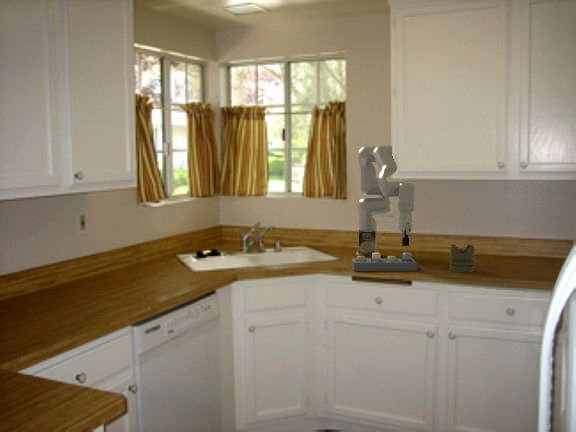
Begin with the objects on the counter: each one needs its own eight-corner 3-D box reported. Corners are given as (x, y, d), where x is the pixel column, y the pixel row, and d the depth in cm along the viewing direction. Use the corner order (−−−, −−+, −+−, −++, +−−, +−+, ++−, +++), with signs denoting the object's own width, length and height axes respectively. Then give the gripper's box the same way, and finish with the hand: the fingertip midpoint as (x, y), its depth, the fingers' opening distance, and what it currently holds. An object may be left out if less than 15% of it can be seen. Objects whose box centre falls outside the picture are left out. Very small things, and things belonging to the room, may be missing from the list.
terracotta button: (356, 264, 307) (356, 255, 307) (364, 264, 307) (364, 255, 307) (357, 265, 303) (357, 257, 303) (365, 265, 303) (365, 257, 303)
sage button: (386, 264, 307) (387, 255, 307) (395, 264, 307) (395, 255, 307) (388, 265, 303) (388, 257, 303) (396, 265, 303) (396, 257, 303)
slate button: (402, 261, 307) (402, 252, 306) (410, 261, 307) (410, 252, 306) (403, 262, 303) (403, 253, 302) (411, 262, 303) (412, 253, 302)
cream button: (371, 261, 307) (371, 252, 307) (379, 261, 307) (380, 252, 307) (372, 262, 303) (372, 253, 303) (381, 262, 303) (381, 254, 303)
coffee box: (357, 262, 323) (357, 231, 321) (357, 260, 329) (357, 229, 327) (375, 262, 322) (375, 231, 320) (375, 260, 328) (375, 230, 326)
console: (351, 266, 311) (351, 258, 311) (411, 266, 311) (411, 258, 311) (353, 270, 300) (354, 262, 299) (416, 270, 299) (416, 262, 299)
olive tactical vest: (476, 247, 292) (451, 247, 294) (475, 273, 294) (450, 272, 295) (473, 244, 303) (449, 243, 305) (472, 268, 305) (448, 267, 306)
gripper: (396, 207, 310) (395, 243, 311) (400, 209, 295) (400, 248, 297) (411, 207, 309) (410, 243, 311) (416, 209, 295) (416, 248, 296)
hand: (405, 245), depth 304 cm, fingers closed
